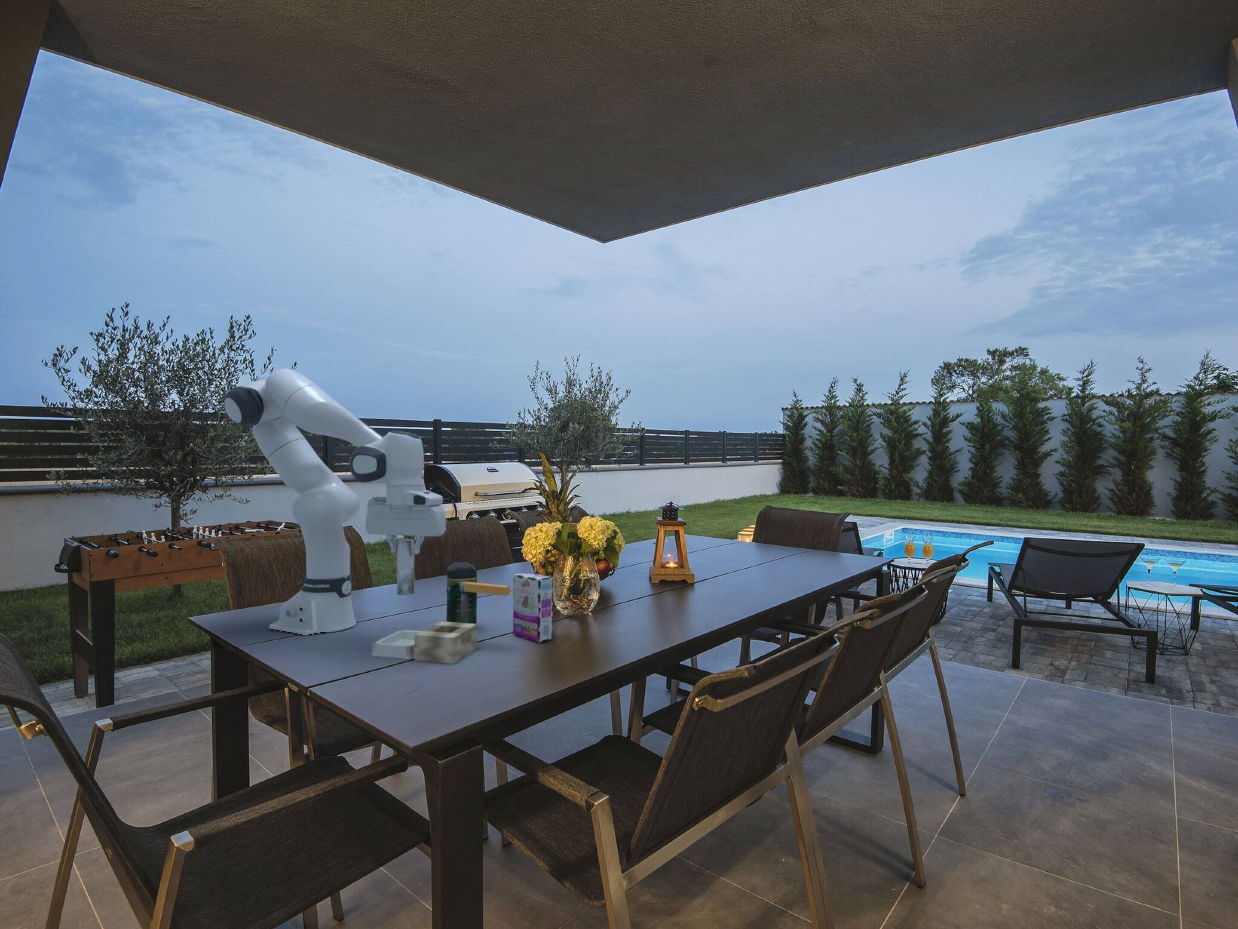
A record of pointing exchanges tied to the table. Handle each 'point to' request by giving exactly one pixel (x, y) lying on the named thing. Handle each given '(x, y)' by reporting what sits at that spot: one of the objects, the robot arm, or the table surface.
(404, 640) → the tray
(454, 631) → the block
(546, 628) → the candy bar box
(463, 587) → the bar
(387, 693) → the table surface
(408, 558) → the steel pin
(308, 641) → the table surface
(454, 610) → the coffee jar
